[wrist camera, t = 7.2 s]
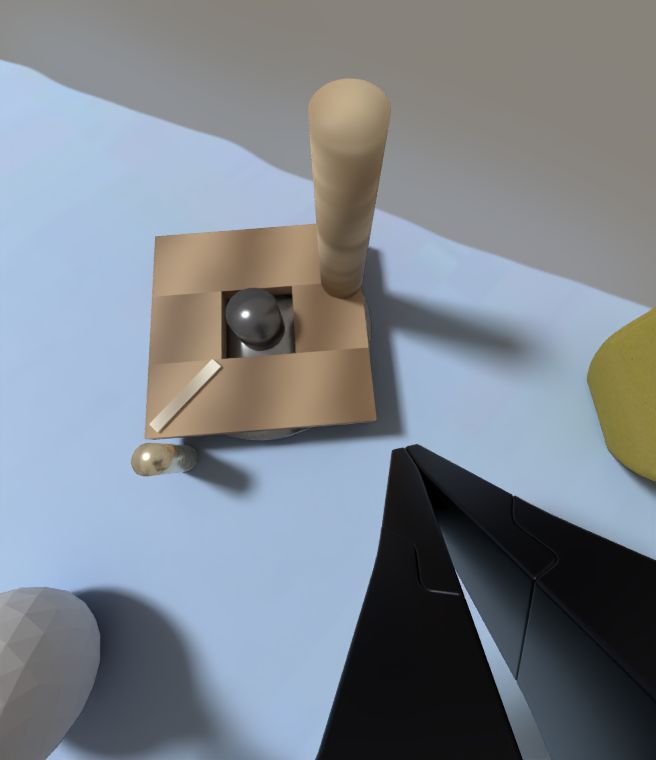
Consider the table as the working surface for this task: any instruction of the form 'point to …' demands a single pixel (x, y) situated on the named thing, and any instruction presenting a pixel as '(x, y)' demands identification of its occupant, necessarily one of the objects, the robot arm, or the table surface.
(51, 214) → the table surface
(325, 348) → the flange plate
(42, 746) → the perfume bottle
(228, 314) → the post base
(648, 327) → the flower pot
